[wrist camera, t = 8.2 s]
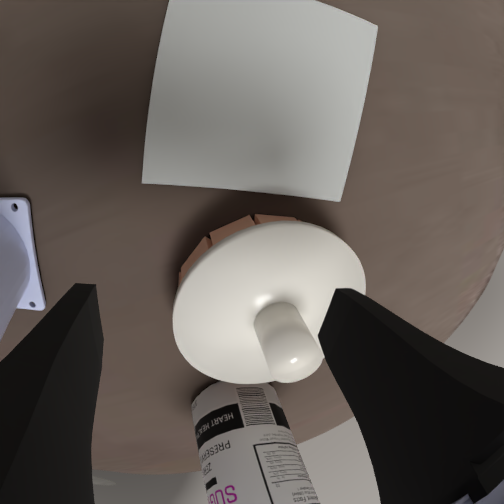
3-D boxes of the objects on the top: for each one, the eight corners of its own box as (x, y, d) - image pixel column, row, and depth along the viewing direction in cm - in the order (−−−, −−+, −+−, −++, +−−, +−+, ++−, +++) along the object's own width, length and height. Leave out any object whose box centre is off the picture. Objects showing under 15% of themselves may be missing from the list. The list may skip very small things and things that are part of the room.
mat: (142, 181, 16) (141, 183, 16) (176, -26, 11) (177, -28, 10) (336, 199, 19) (339, 201, 19) (374, 26, 14) (378, 26, 14)
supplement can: (274, 410, 30) (322, 532, 17) (198, 425, 28) (228, 555, 16) (274, 364, 26) (339, 519, 13) (181, 382, 24) (212, 550, 12)
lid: (171, 378, 20) (177, 432, 16) (178, 212, 14) (182, 259, 10) (326, 367, 23) (349, 409, 19) (383, 229, 18) (429, 266, 14)
